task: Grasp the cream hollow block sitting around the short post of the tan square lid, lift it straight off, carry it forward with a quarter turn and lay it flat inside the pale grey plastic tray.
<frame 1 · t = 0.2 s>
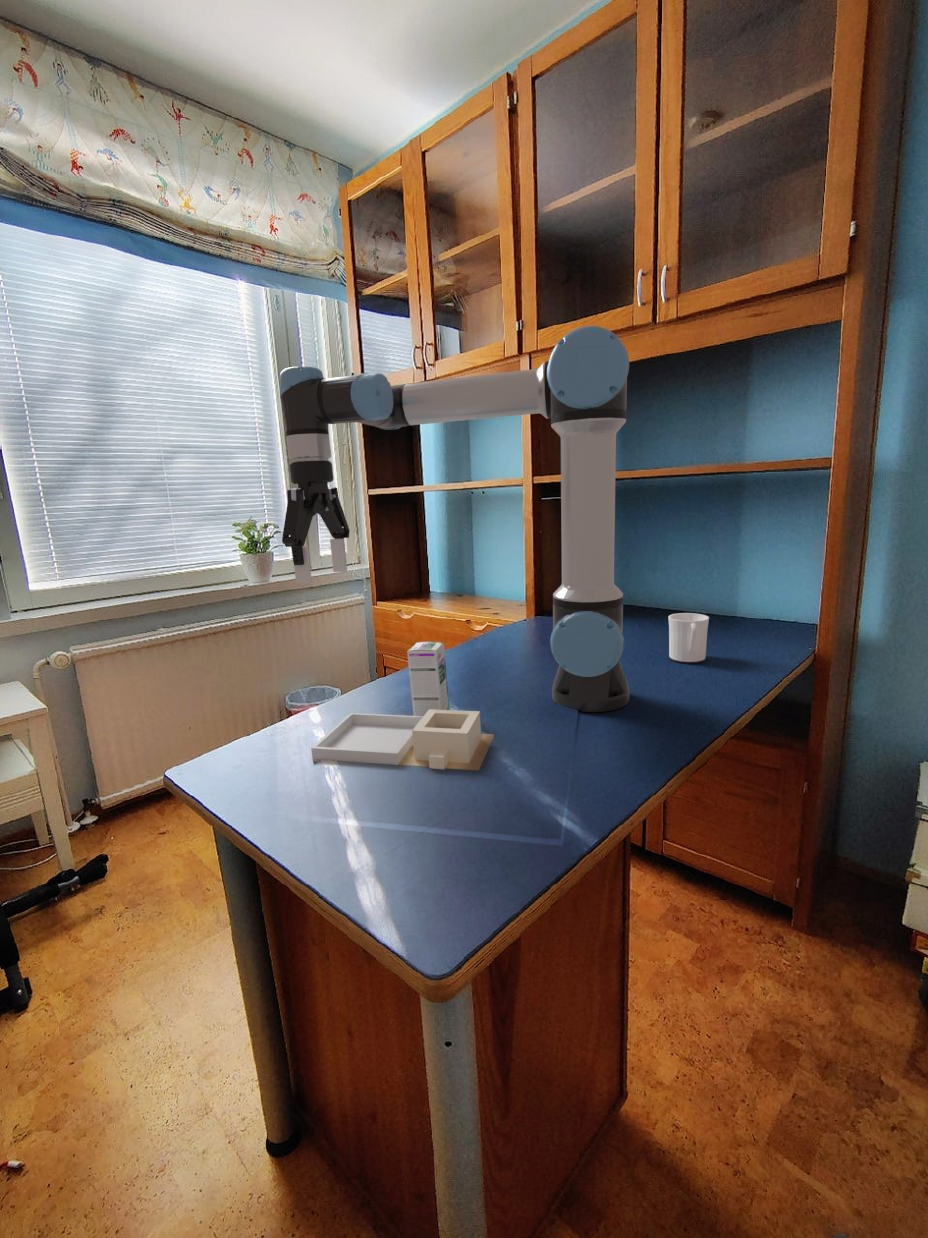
hand: (323, 577, 108), 28 cm above the table, fingers open, 13 cm apart
mug: (688, 661, 136), on the table
tray: (373, 744, 99), on the table
tan square lid: (449, 752, 95), on the table
syrup box: (431, 719, 110), on the table
cream hollow block: (448, 748, 95), point 1 cm above the table, touching tan square lid
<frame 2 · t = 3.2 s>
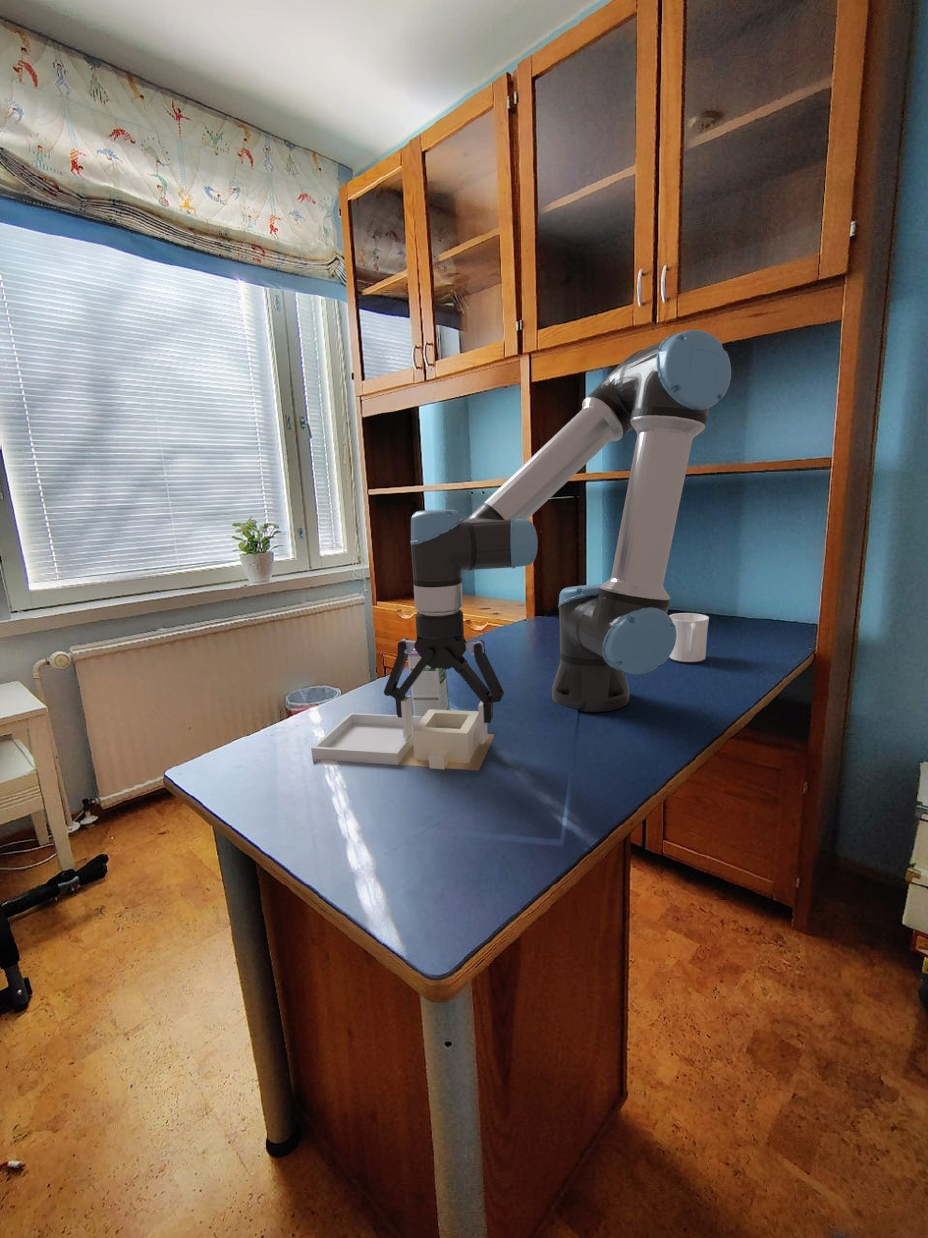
hand: (445, 737, 94), 3 cm above the table, fingers open, 12 cm apart
nothing on the table moved.
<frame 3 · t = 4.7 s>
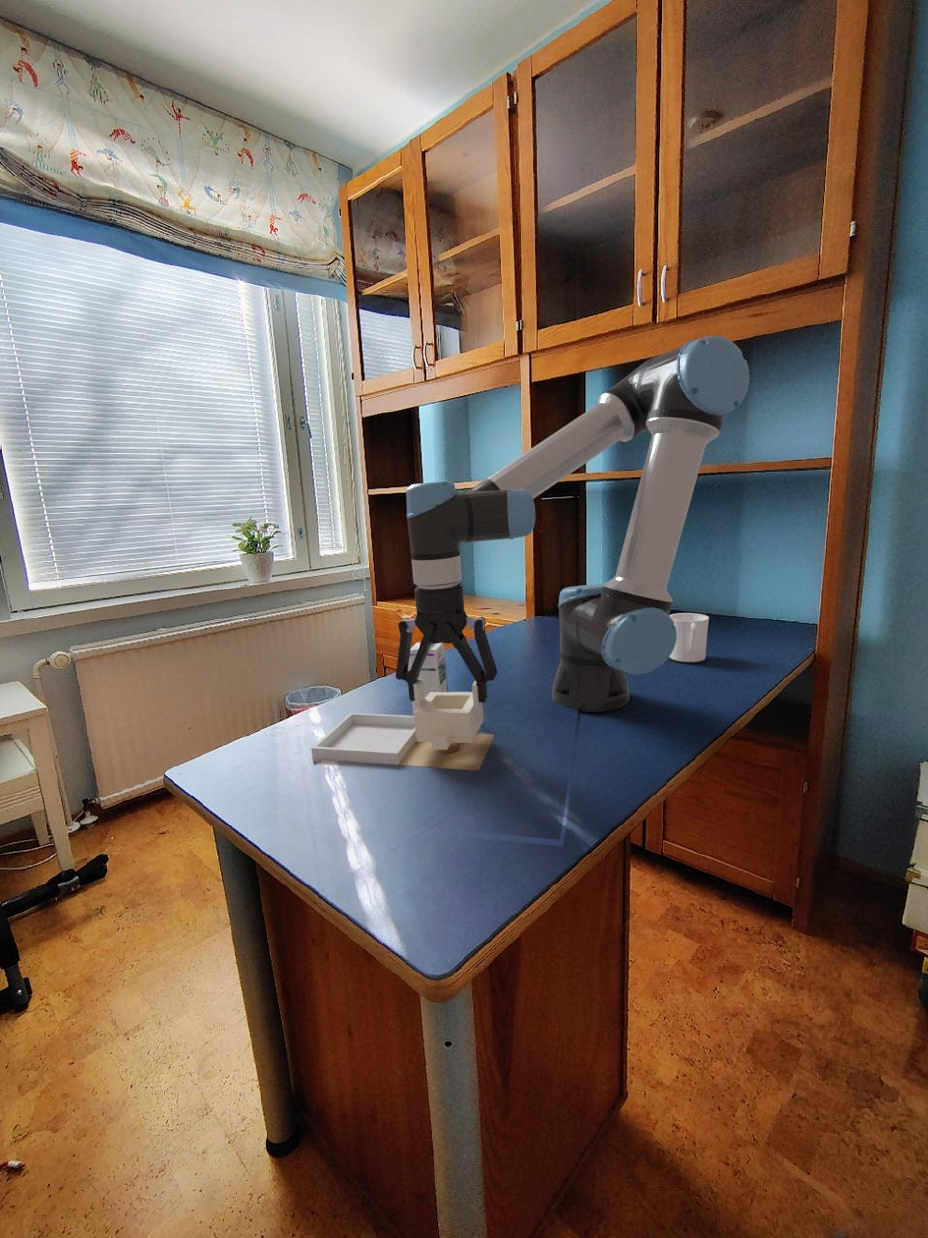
hand: (450, 719, 94), 6 cm above the table, fingers closed on cream hollow block, 9 cm apart
cream hollow block: (451, 730, 94), point 4 cm above the table, touching gripper
everything else where it was.
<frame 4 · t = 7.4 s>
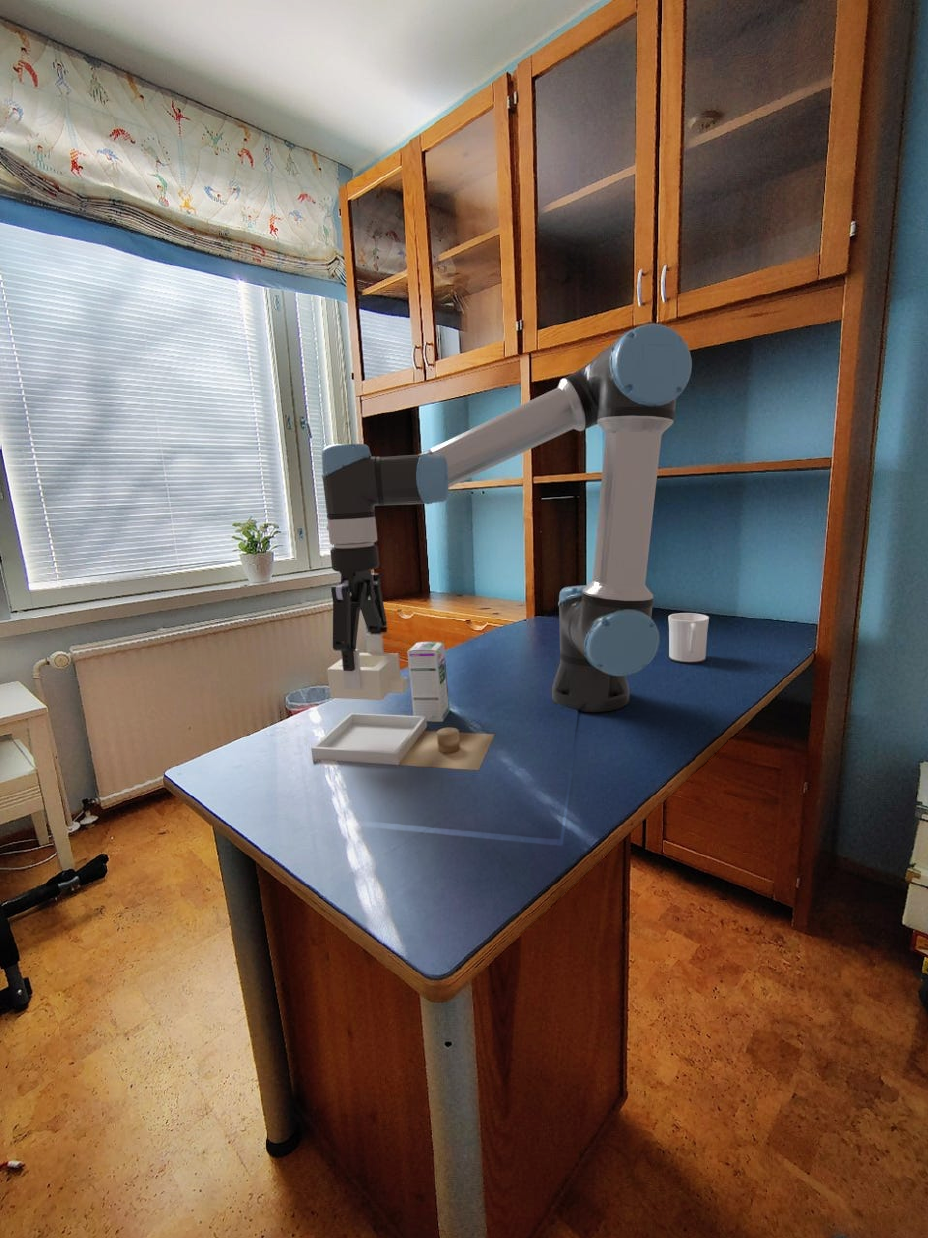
hand: (365, 678, 97), 12 cm above the table, fingers closed on cream hollow block, 9 cm apart
cream hollow block: (366, 689, 97), point 10 cm above the table, touching gripper
everything else where it was.
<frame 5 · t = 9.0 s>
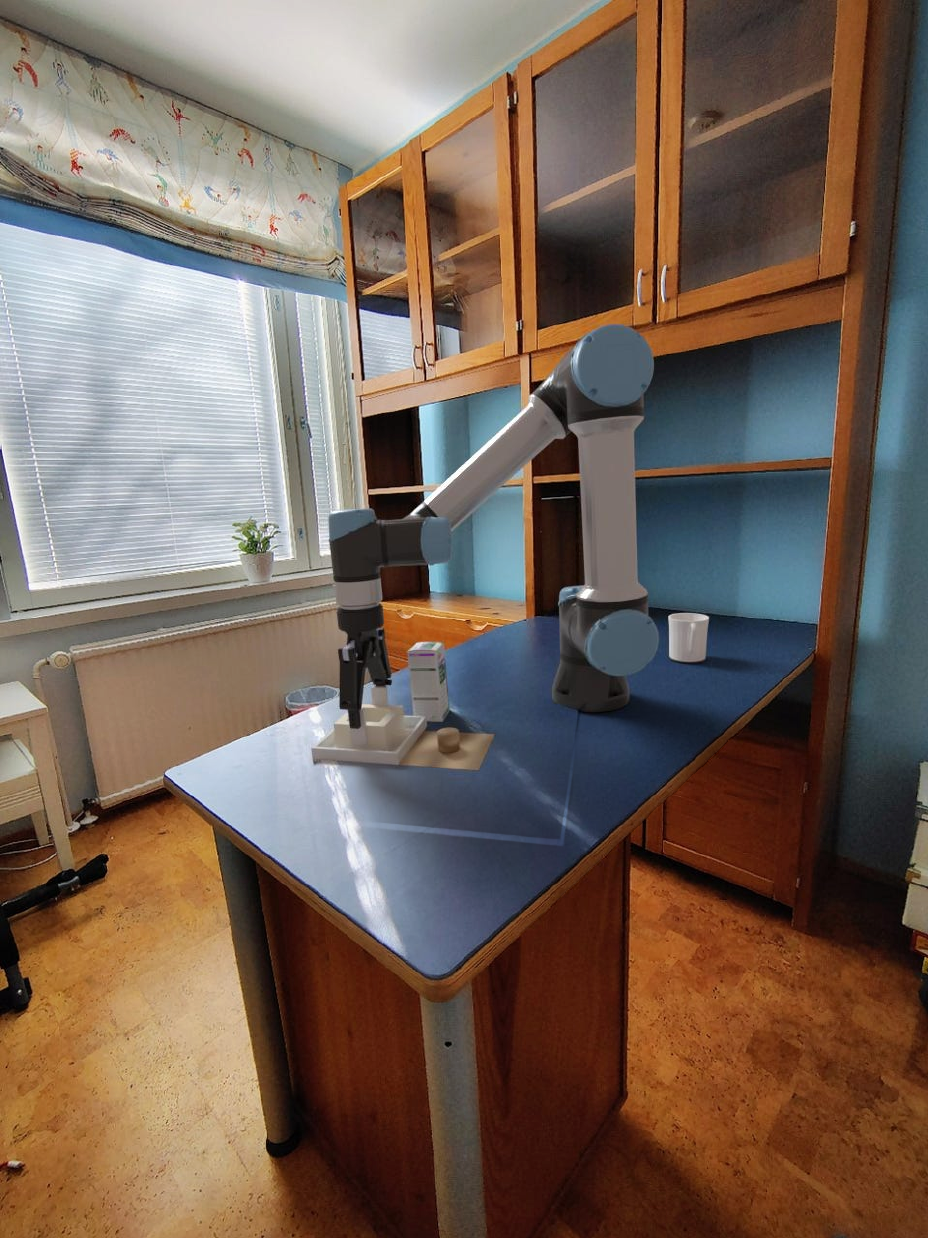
hand: (371, 732, 99), 2 cm above the table, fingers closed on cream hollow block, 9 cm apart
cream hollow block: (372, 741, 99), point 1 cm above the table, touching gripper, tray
everything else where it was.
when the fingers open (2 cm above the table, at t = 10.0 s): cream hollow block stays where it is, resting on tray.
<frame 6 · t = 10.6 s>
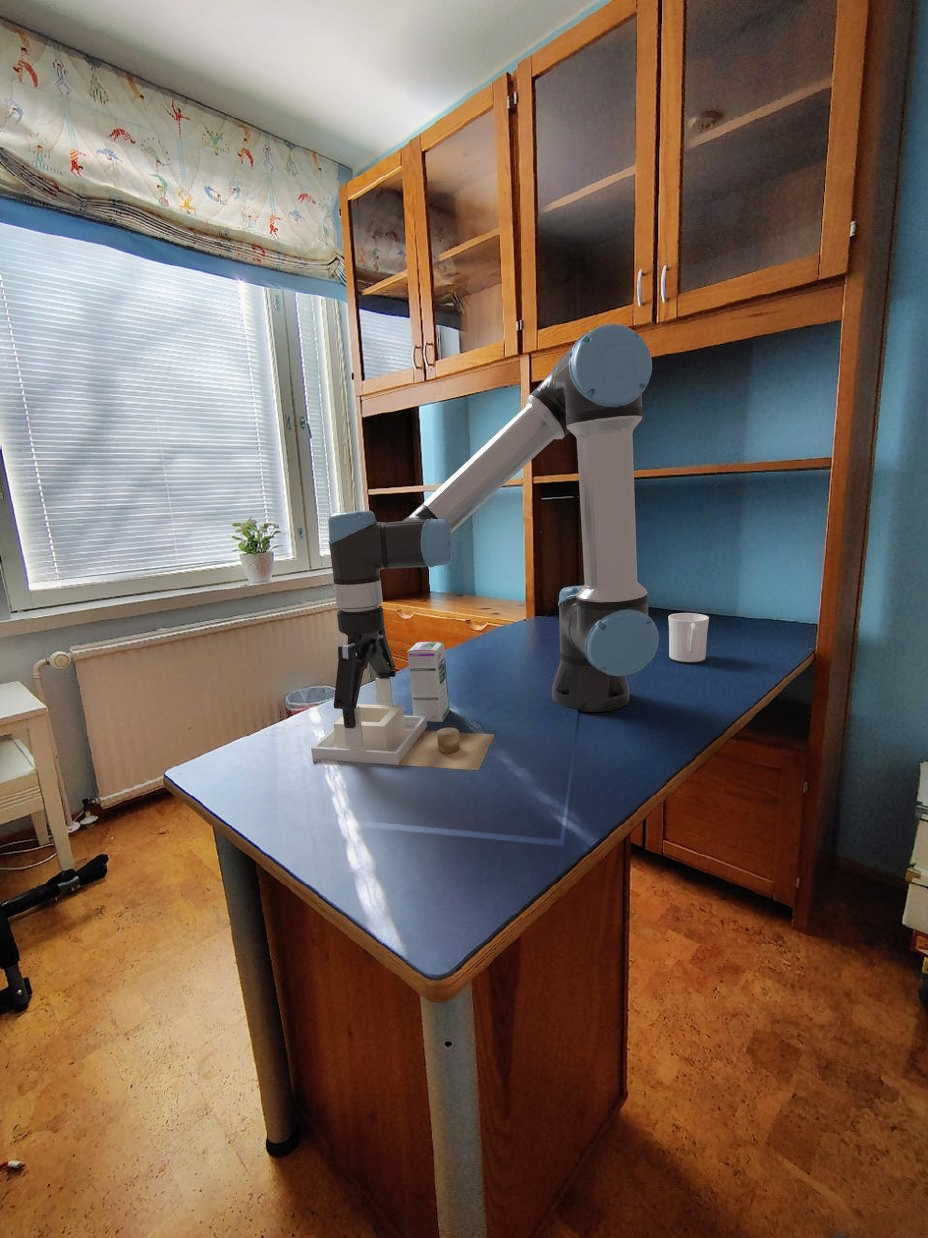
hand: (371, 727, 99), 3 cm above the table, fingers open, 13 cm apart
cream hollow block: (372, 741, 99), point 1 cm above the table, touching tray
everything else where it was.
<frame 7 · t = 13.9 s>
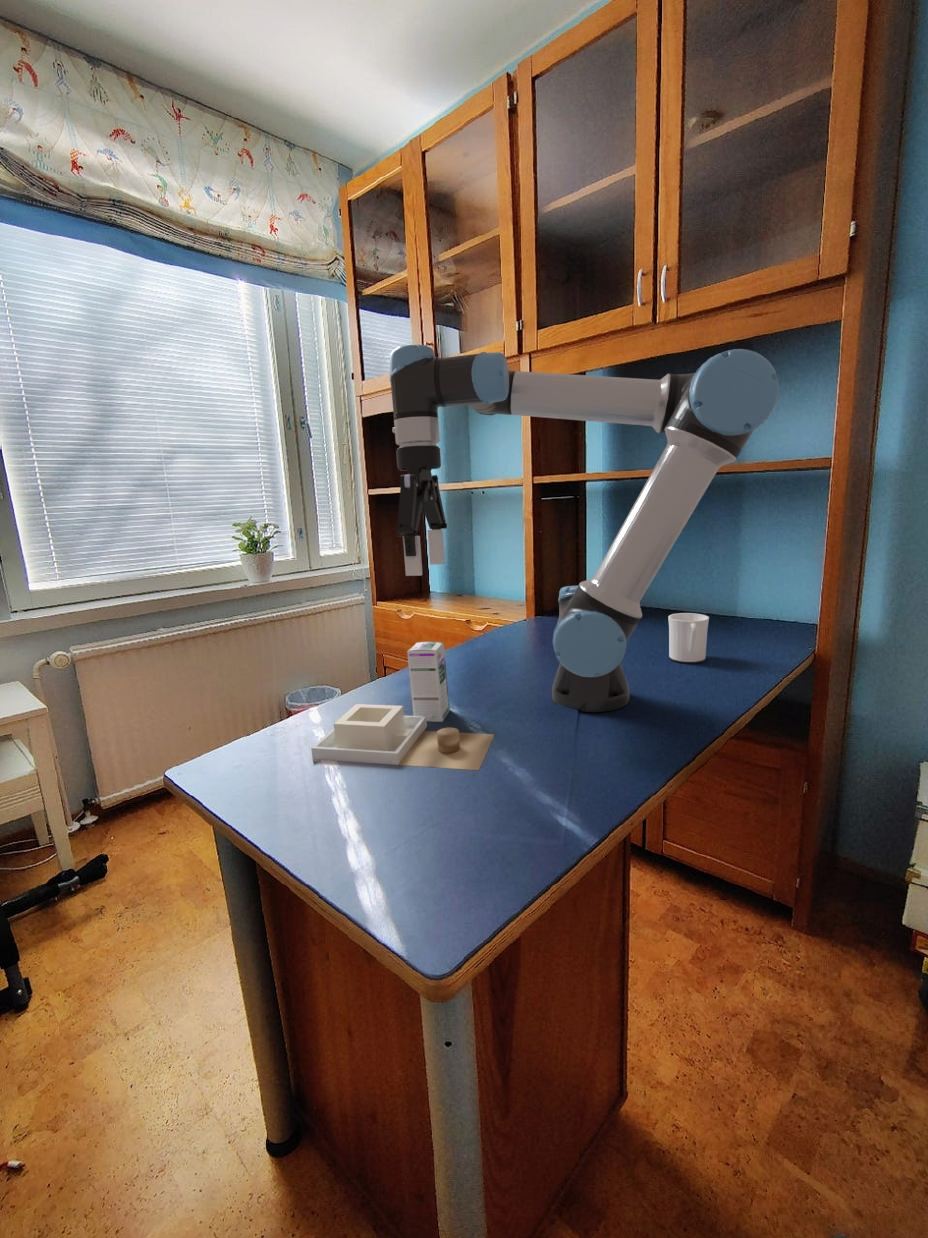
hand: (426, 569, 102), 29 cm above the table, fingers open, 13 cm apart
nothing on the table moved.
at the end: cream hollow block inside the target area on the tray (0.1 cm from its centre), point 0.6 cm above the tray's base; cream hollow block tilted 0°; the gripper is holding nothing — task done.
